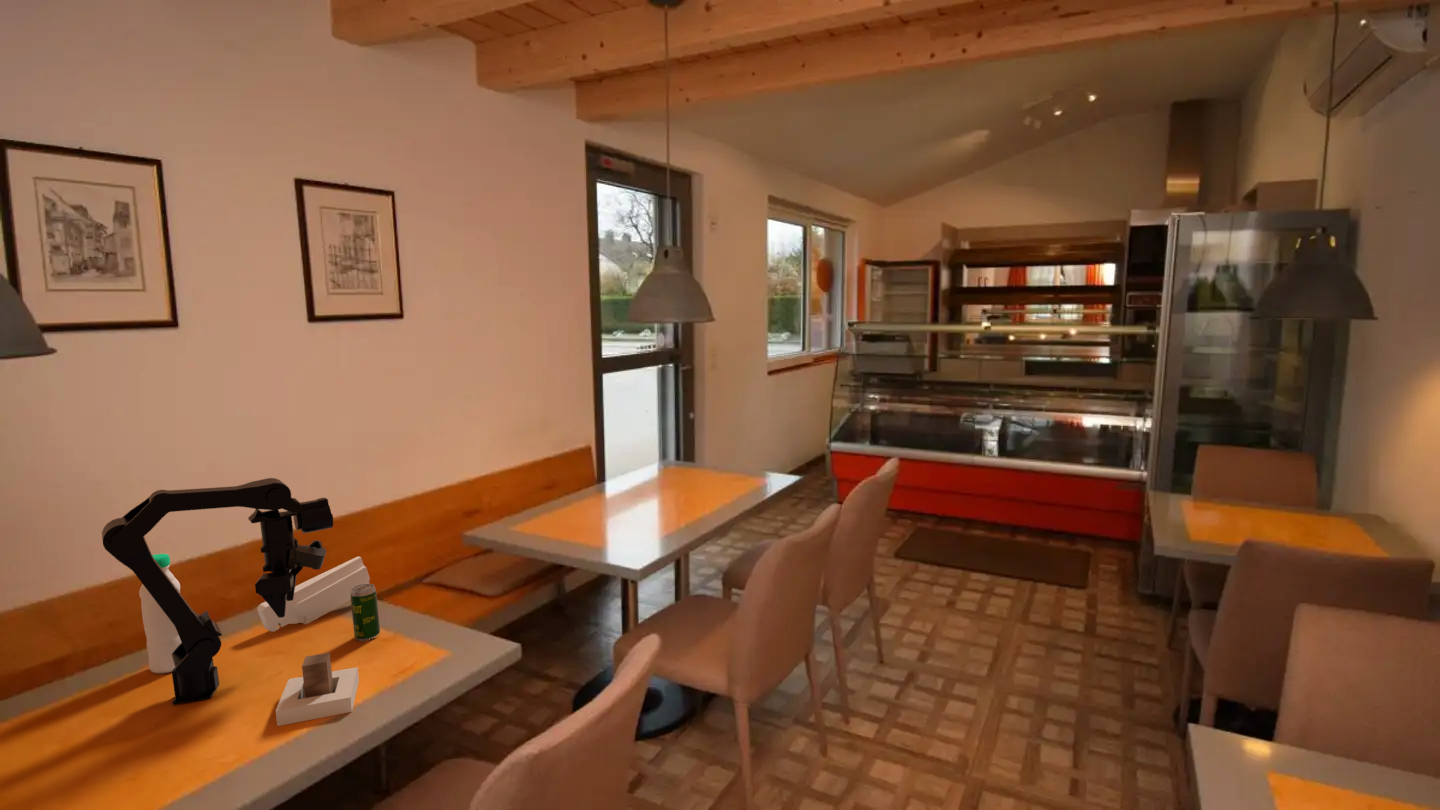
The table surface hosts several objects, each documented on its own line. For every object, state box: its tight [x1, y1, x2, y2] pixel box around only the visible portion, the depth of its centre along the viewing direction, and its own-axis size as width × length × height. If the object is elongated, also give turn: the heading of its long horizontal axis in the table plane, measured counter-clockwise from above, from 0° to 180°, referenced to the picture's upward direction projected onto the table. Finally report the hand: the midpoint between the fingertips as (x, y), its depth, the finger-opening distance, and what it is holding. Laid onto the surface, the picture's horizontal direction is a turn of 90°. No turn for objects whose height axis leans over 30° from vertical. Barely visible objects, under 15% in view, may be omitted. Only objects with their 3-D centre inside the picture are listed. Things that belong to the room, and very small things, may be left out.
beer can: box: [350, 583, 381, 642], centre depth 172 cm, size 5×5×12 cm
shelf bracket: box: [256, 556, 371, 633], centre depth 184 cm, size 6×25×13 cm, turn 143°
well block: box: [275, 666, 360, 727], centre depth 144 cm, size 12×12×3 cm
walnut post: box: [301, 652, 335, 698], centre depth 144 cm, size 4×4×9 cm
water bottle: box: [138, 553, 182, 674], centre depth 158 cm, size 7×7×25 cm
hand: (286, 608), depth 158 cm, fingers open, 9 cm apart
